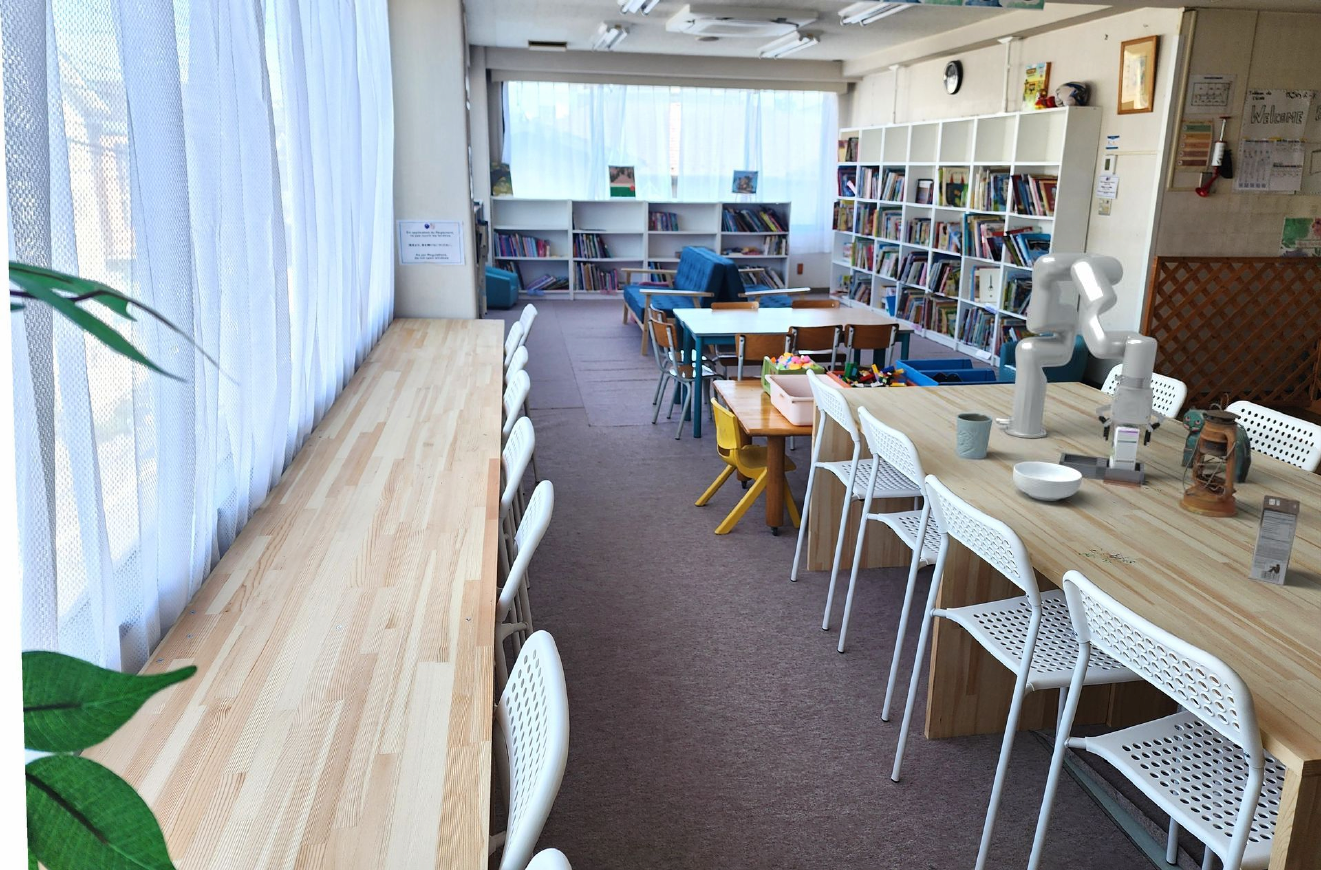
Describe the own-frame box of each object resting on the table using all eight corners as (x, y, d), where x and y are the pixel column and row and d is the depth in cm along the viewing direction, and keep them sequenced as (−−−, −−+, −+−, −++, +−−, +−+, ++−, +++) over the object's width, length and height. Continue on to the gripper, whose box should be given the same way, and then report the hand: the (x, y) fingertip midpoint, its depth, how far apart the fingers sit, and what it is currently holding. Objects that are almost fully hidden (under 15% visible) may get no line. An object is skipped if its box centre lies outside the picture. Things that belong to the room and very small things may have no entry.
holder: (1056, 477, 261) (1058, 465, 260) (1060, 464, 273) (1061, 452, 272) (1142, 488, 252) (1144, 476, 251) (1142, 474, 264) (1144, 462, 263)
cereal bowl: (1072, 511, 234) (1076, 484, 233) (1004, 499, 243) (1007, 473, 241) (1083, 492, 248) (1087, 467, 246) (1018, 481, 257) (1021, 457, 255)
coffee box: (1251, 564, 203) (1264, 494, 199) (1286, 571, 200) (1300, 500, 195) (1248, 578, 196) (1262, 505, 192) (1284, 585, 193) (1299, 512, 188)
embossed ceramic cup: (990, 453, 283) (994, 415, 280) (986, 462, 274) (990, 422, 271) (955, 449, 287) (959, 411, 284) (950, 457, 278) (954, 418, 275)
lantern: (1253, 520, 229) (1275, 401, 221) (1199, 519, 229) (1220, 401, 221) (1214, 497, 245) (1234, 386, 237) (1165, 496, 246) (1183, 385, 237)
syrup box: (1133, 479, 258) (1141, 429, 254) (1110, 477, 260) (1118, 427, 256) (1129, 473, 263) (1136, 423, 260) (1106, 471, 265) (1113, 422, 261)
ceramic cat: (1173, 464, 273) (1184, 398, 268) (1189, 462, 275) (1200, 396, 270) (1236, 485, 255) (1249, 414, 250) (1252, 482, 258) (1266, 412, 252)
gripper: (1100, 381, 254) (1091, 441, 259) (1171, 388, 247) (1160, 450, 252) (1101, 375, 261) (1092, 434, 266) (1170, 382, 254) (1160, 442, 259)
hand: (1125, 441), depth 259 cm, fingers open, 9 cm apart
